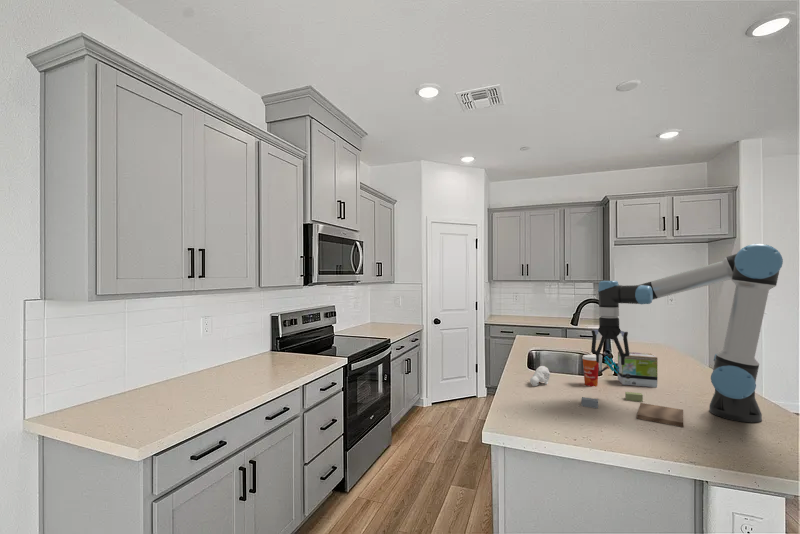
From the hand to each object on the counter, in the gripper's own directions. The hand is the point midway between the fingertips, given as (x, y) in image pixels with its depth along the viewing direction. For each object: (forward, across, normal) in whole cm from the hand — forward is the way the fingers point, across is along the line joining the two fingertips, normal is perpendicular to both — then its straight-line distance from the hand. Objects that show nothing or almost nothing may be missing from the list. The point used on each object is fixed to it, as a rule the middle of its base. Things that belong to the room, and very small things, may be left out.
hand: (610, 371), depth 165 cm
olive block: (+13, -8, -8) cm, 17 cm away
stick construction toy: (+1, +1, 0) cm, 1 cm away
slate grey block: (+13, +6, +11) cm, 18 cm away
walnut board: (+13, -18, +8) cm, 23 cm away
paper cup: (+13, +12, -22) cm, 28 cm away
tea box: (+13, -6, -37) cm, 40 cm away
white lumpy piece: (+13, +32, -8) cm, 36 cm away
